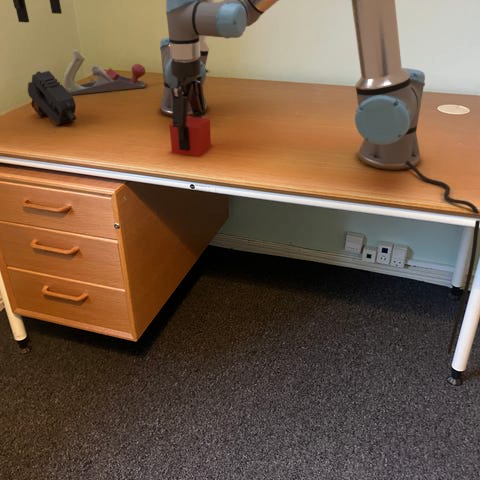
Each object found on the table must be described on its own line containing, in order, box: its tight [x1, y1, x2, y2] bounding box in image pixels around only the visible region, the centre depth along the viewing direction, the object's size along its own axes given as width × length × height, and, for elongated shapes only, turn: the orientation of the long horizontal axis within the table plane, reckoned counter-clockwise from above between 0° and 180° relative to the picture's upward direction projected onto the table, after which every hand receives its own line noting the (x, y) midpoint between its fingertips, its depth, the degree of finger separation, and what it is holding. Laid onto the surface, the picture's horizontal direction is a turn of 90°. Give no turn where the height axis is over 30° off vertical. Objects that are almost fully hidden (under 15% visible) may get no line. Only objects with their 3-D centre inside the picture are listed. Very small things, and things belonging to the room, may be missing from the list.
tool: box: [27, 70, 77, 126], centre depth 167 cm, size 6×19×15 cm, turn 51°
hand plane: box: [62, 48, 146, 96], centre depth 194 cm, size 7×31×15 cm, turn 107°
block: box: [169, 116, 212, 158], centre depth 145 cm, size 8×8×8 cm
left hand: (41, 17), depth 142 cm, fingers open, 13 cm apart
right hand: (191, 143), depth 146 cm, fingers closed on block, 8 cm apart
